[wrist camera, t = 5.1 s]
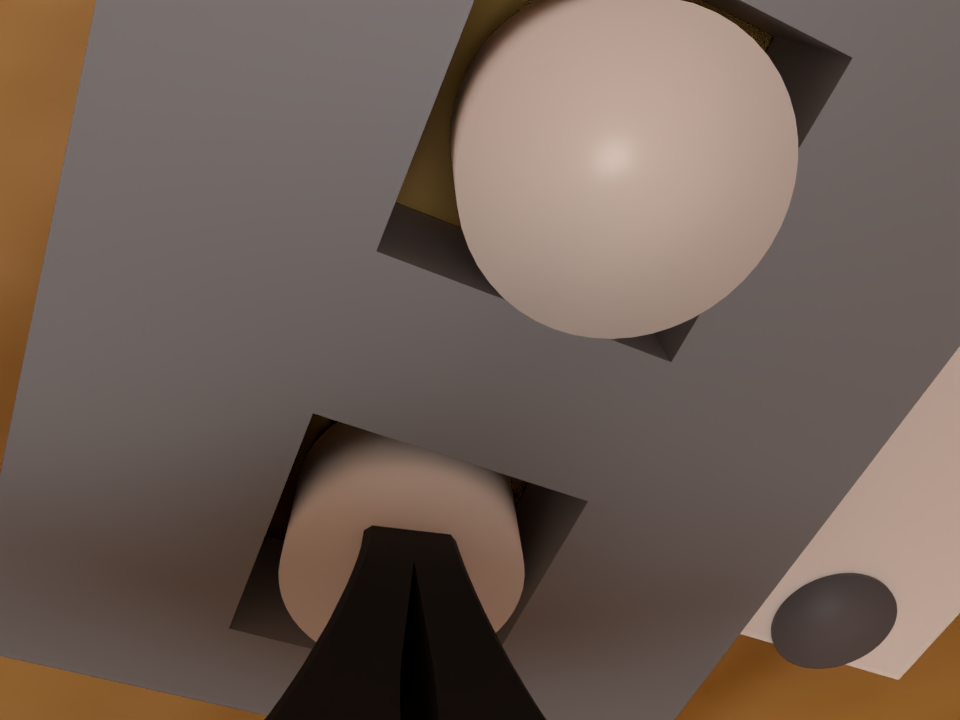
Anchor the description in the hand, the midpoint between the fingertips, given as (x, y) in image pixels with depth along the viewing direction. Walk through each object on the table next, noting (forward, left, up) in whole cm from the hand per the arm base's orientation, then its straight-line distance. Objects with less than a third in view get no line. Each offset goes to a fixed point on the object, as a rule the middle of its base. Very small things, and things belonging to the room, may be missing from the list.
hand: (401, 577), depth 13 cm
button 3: (0, 0, -2) cm, 2 cm away
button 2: (0, -7, -1) cm, 7 cm away
